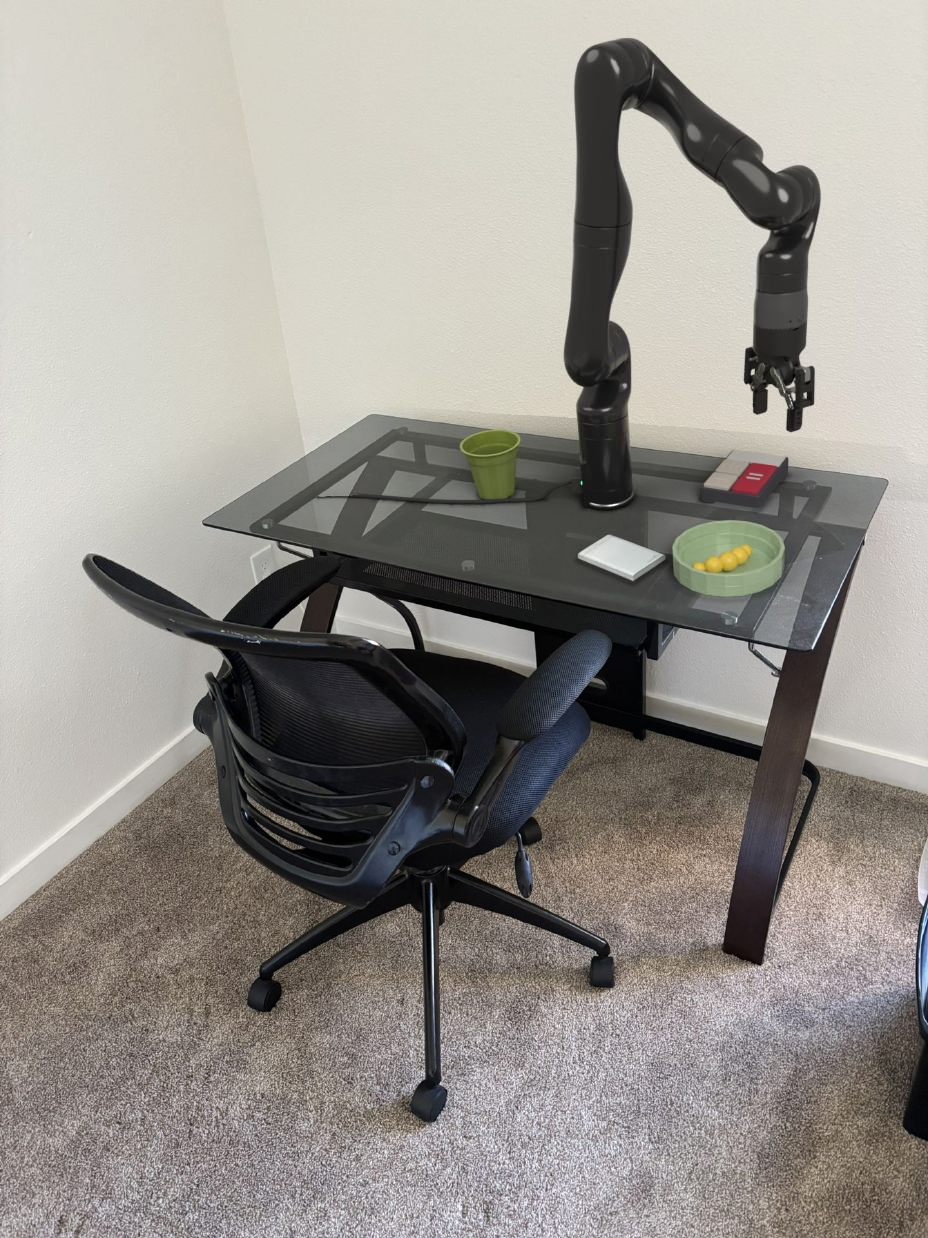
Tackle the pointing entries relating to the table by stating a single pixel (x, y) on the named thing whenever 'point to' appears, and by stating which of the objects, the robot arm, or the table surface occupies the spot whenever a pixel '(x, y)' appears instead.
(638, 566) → the hard drive
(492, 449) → the plant pot
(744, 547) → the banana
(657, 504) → the table surface
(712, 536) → the bowl
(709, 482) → the calculator
